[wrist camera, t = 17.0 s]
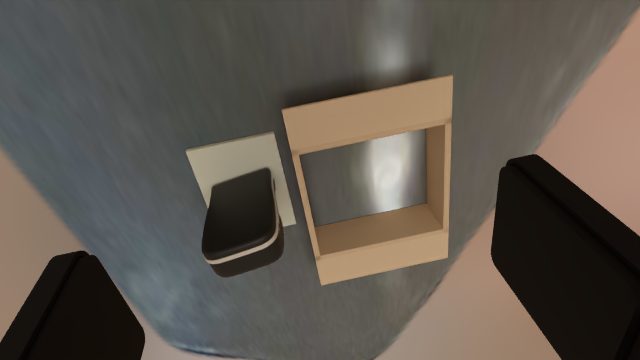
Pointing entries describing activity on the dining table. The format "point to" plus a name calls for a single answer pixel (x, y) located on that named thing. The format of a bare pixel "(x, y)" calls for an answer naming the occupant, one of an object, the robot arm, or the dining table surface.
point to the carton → (393, 226)
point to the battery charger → (243, 225)
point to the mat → (241, 166)
